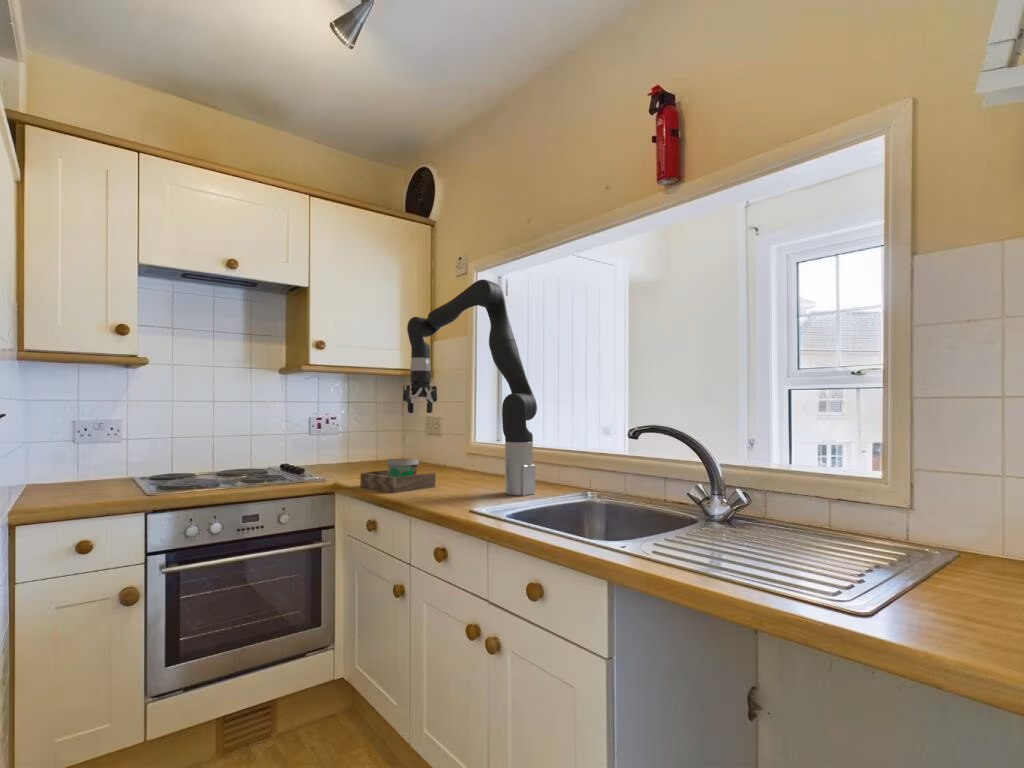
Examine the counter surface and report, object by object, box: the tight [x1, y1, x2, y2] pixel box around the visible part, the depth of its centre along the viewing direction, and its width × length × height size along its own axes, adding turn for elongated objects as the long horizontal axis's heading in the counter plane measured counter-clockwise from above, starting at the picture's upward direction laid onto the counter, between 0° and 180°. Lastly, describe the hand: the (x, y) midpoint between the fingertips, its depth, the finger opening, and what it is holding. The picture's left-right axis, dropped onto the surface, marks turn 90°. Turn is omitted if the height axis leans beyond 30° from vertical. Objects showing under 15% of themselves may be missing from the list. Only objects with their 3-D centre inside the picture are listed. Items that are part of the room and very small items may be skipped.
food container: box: [385, 457, 420, 477], centre depth 193 cm, size 12×6×10 cm, turn 73°
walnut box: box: [359, 469, 436, 494], centre depth 193 cm, size 19×18×5 cm
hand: (420, 413), depth 204 cm, fingers open, 8 cm apart
